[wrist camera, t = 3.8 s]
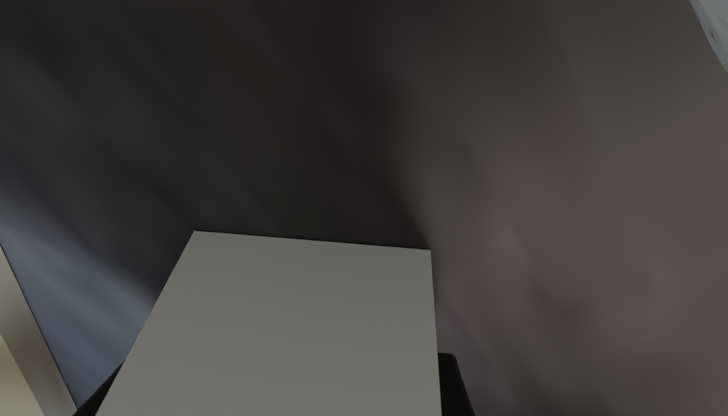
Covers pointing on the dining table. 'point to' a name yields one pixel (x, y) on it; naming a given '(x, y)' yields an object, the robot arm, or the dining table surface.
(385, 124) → the dining table surface
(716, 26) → the ceramic mug
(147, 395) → the white cabinet with handle
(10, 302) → the board
